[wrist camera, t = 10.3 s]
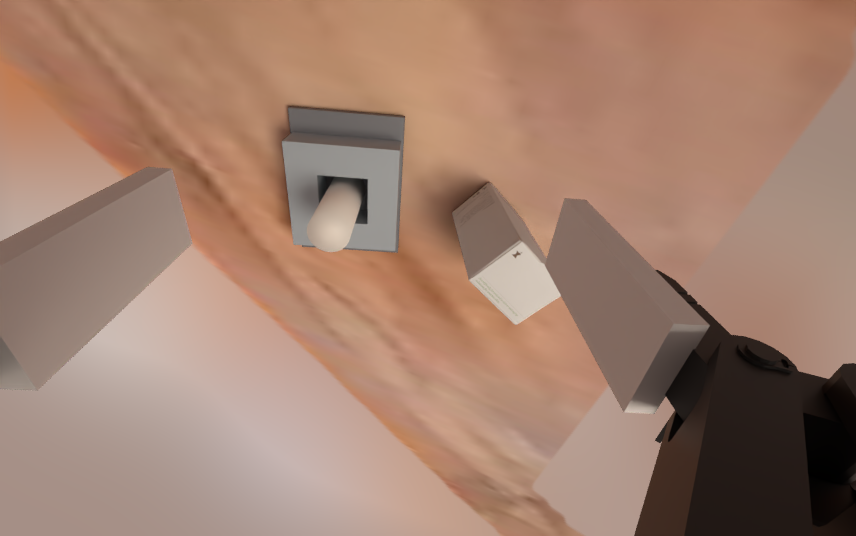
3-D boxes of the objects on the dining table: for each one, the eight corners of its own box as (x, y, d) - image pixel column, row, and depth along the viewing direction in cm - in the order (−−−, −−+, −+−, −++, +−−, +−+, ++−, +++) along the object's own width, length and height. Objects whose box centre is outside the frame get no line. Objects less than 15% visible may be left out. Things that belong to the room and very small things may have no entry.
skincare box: (450, 211, 49) (462, 278, 35) (492, 177, 46) (521, 236, 33) (489, 253, 52) (513, 329, 39) (530, 223, 50) (570, 294, 37)
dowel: (330, 170, 44) (304, 212, 34) (365, 172, 45) (349, 215, 34) (332, 202, 46) (308, 250, 36) (365, 204, 47) (350, 253, 37)
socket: (290, 106, 41) (276, 114, 37) (404, 116, 42) (403, 125, 38) (304, 242, 50) (293, 262, 46) (398, 248, 51) (396, 268, 47)
